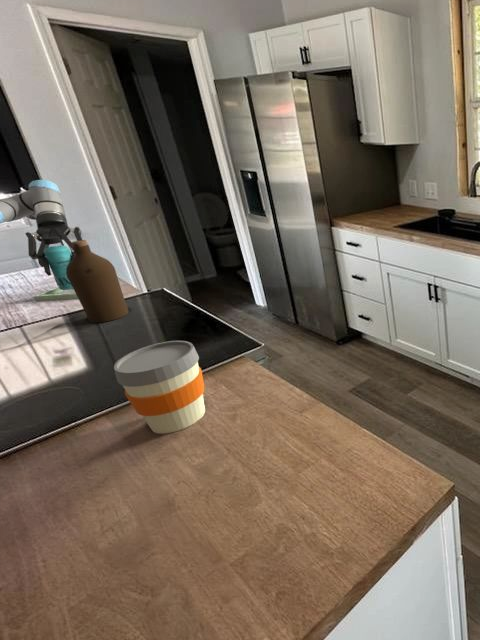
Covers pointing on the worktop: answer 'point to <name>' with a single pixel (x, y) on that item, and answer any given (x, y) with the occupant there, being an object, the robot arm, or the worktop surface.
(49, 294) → the back pad
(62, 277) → the beverage bottle
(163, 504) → the worktop surface
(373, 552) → the worktop surface
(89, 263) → the brown jug bottle
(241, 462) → the worktop surface
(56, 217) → the robot arm
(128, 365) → the reusable coffee cup
